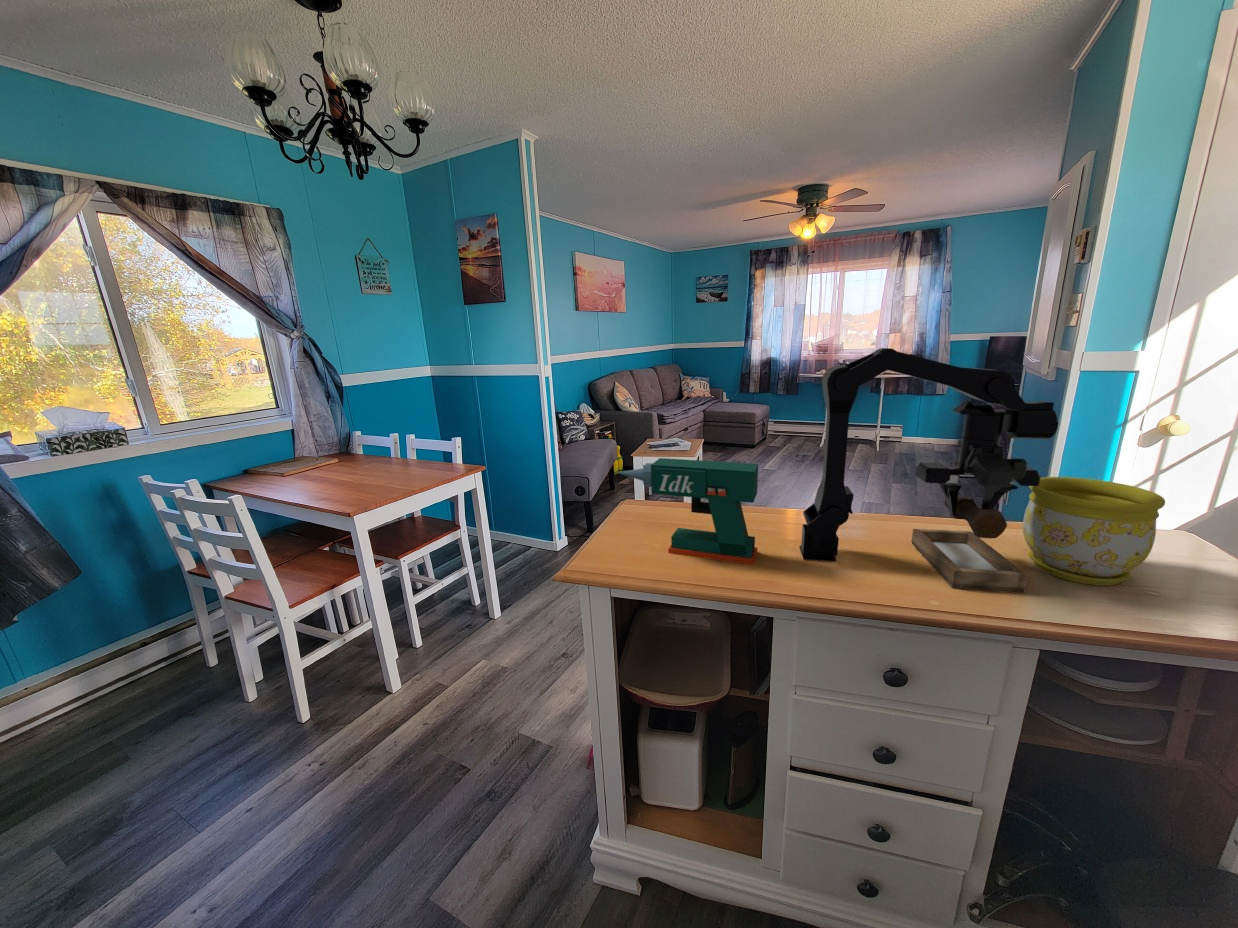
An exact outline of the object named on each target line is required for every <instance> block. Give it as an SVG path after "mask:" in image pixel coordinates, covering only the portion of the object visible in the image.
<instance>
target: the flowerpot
mask: <svg viewBox="0 0 1238 928" xmlns="http://www.w3.org/2000/svg"><path fill="white" fill-rule="evenodd" d="M1028 487H1029V489H1030V490H1031V493H1030V494H1029V495H1028V498H1029V501H1028V504H1027V507H1026V509H1025V512H1024V516H1023V522H1022V534H1023V537H1024V540H1025V542H1026V545H1027V546H1028V548H1029V549H1030V551H1029V552H1028V555H1027V556H1028V557H1029V558H1030V560H1031V561H1032V562H1033V564H1034V565H1035V567H1037V568H1038V569H1039V570H1042V571H1043V572H1045V573H1047V574H1050V575H1052V576H1054V577H1057V578H1060V579H1063V580H1067V581H1071V582H1074V583H1080V584H1084V585H1085V584H1086V585H1092V586H1115V585H1117V584H1120V583H1122V582H1124V581H1127V580H1129V579H1130V578H1131V572H1130V571H1133V570H1134V569H1136V568H1137V567H1139V566H1140V565H1141V564H1142V563H1143V562H1145V561H1146V559H1147V558H1148V557H1149V555H1150V553H1151V552H1152V550H1153V546H1154V543H1155V541H1156V540H1155V539H1156V533H1157V519H1158V518H1159V516H1160V514H1159V512H1158V511H1159V510H1160V509H1163V507H1165V505H1166V499H1165V497H1162V496H1161V495H1159V494H1158V493H1156V492H1154V491H1151V490H1148V489H1144V488H1141V487H1137V486H1134V485H1130V484H1124V483H1119V482H1114V481H1107V480H1103V479H1102V480H1101V479H1092V478H1086V477H1085V478H1083V477H1070V476H1048V477H1046V476H1044V477H1041V478H1040V483H1039V486H1028Z"/></svg>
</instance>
